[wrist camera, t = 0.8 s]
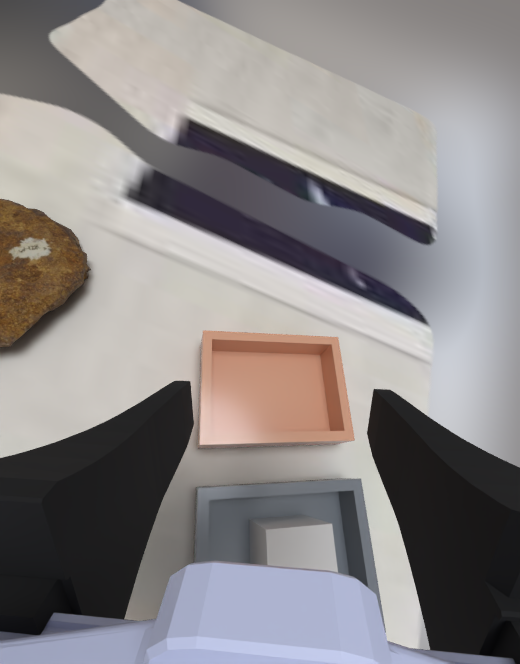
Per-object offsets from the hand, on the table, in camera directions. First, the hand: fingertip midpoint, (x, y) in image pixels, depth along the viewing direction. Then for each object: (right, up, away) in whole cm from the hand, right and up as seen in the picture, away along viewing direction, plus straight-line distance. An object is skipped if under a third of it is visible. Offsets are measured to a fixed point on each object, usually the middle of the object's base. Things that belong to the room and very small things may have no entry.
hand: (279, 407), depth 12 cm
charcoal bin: (0, -12, +10) cm, 16 cm away
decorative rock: (-22, +6, +13) cm, 26 cm away
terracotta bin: (0, -2, +14) cm, 14 cm away
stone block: (0, -12, +9) cm, 15 cm away
